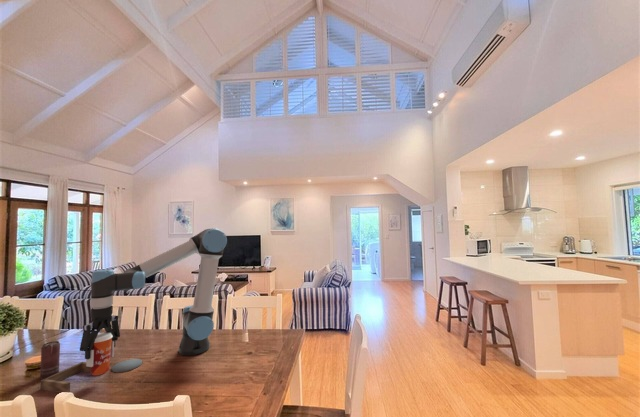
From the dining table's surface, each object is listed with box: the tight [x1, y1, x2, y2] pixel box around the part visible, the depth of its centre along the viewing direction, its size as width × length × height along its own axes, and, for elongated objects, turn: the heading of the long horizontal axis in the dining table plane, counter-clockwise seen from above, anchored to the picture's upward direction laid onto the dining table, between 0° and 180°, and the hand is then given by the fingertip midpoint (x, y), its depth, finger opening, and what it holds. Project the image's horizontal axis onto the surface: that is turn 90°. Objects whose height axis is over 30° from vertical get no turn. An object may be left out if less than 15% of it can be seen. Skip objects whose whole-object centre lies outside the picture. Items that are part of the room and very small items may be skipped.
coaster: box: [111, 358, 143, 373], centre depth 134 cm, size 12×12×1 cm
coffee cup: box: [90, 331, 113, 376], centre depth 120 cm, size 8×8×15 cm
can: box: [39, 340, 61, 380], centre depth 127 cm, size 6×6×14 cm
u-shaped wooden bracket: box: [40, 361, 107, 393], centre depth 122 cm, size 14×16×4 cm
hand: (100, 361), depth 120 cm, fingers closed on coffee cup, 8 cm apart
